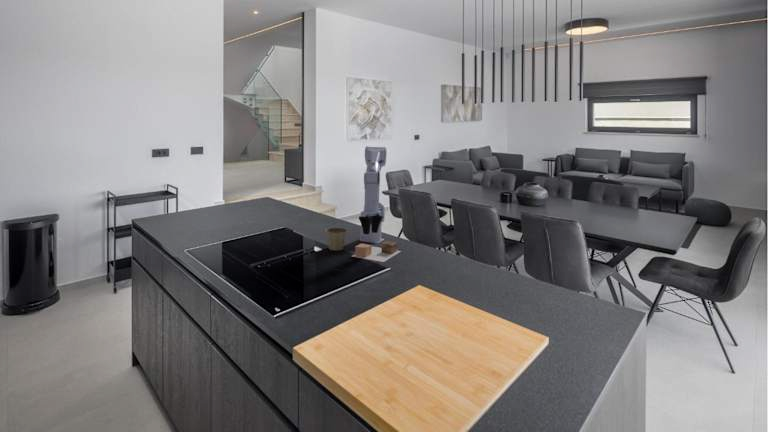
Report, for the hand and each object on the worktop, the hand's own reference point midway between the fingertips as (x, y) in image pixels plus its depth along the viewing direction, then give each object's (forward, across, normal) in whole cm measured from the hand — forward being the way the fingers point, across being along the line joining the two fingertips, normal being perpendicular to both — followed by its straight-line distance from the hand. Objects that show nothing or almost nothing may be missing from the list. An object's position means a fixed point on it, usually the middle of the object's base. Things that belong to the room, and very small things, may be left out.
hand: (370, 233), depth 177 cm
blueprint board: (+9, +5, -1) cm, 11 cm away
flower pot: (+9, +3, +18) cm, 20 cm away
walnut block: (+8, +10, -4) cm, 14 cm away
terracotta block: (+9, 0, +3) cm, 10 cm away
